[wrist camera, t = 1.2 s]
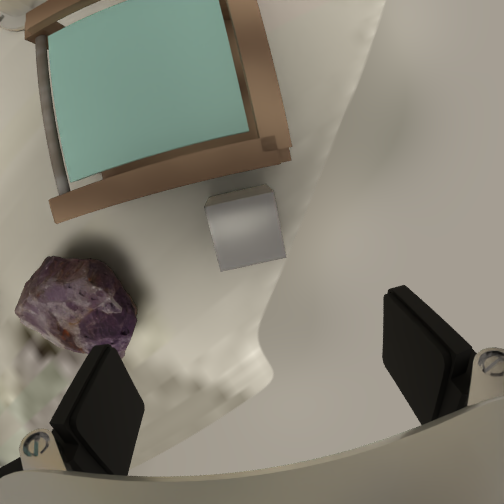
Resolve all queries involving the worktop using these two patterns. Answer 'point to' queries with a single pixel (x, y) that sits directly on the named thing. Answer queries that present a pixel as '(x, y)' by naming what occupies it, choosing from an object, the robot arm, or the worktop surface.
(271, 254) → the gray cube
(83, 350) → the rock
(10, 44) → the worktop surface
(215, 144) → the frame
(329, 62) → the worktop surface
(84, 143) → the trapdoor
